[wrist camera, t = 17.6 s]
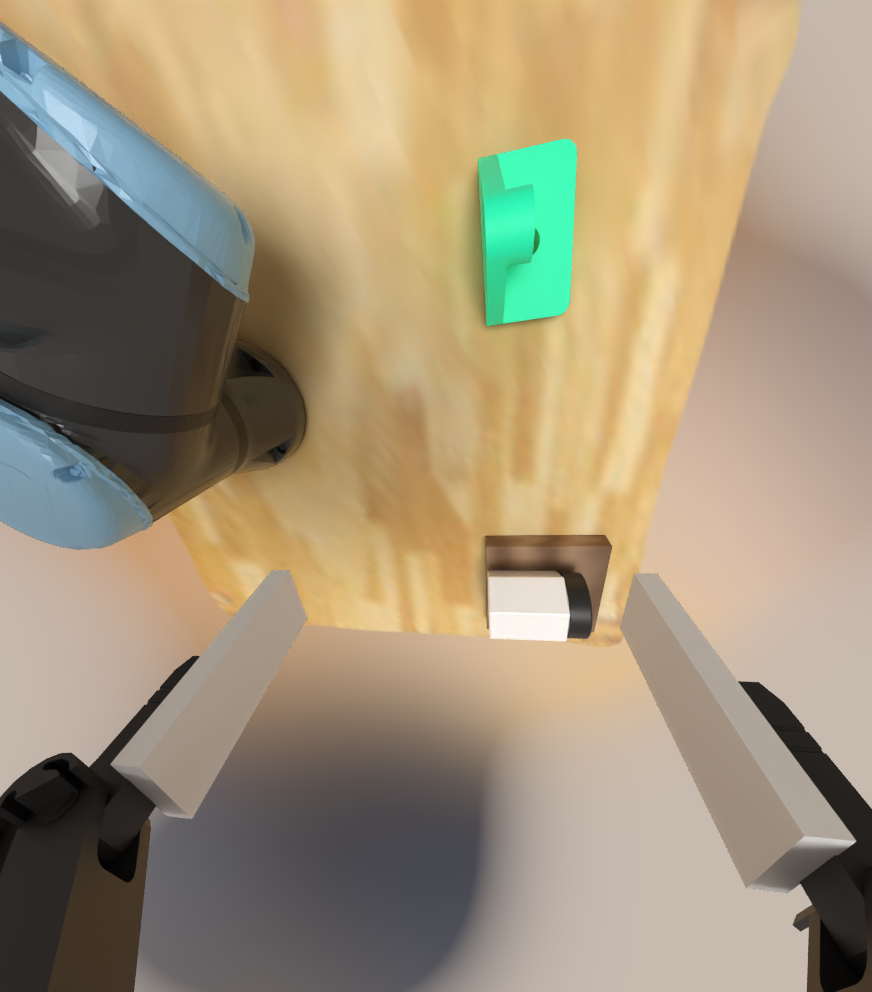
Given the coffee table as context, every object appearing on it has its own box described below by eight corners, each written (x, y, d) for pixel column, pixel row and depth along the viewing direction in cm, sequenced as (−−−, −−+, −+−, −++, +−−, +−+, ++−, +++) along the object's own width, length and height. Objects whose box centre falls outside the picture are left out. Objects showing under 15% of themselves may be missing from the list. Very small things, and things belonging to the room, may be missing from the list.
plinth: (486, 616, 53) (487, 628, 50) (485, 535, 45) (486, 546, 43) (588, 618, 51) (593, 632, 48) (605, 535, 43) (612, 546, 41)
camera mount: (562, 314, 32) (596, 309, 23) (486, 326, 33) (490, 325, 24) (569, 152, 27) (617, 62, 18) (477, 172, 28) (478, 98, 19)
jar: (489, 643, 44) (581, 647, 42) (489, 632, 37) (598, 636, 35) (487, 579, 48) (569, 580, 47) (487, 559, 42) (583, 559, 40)
